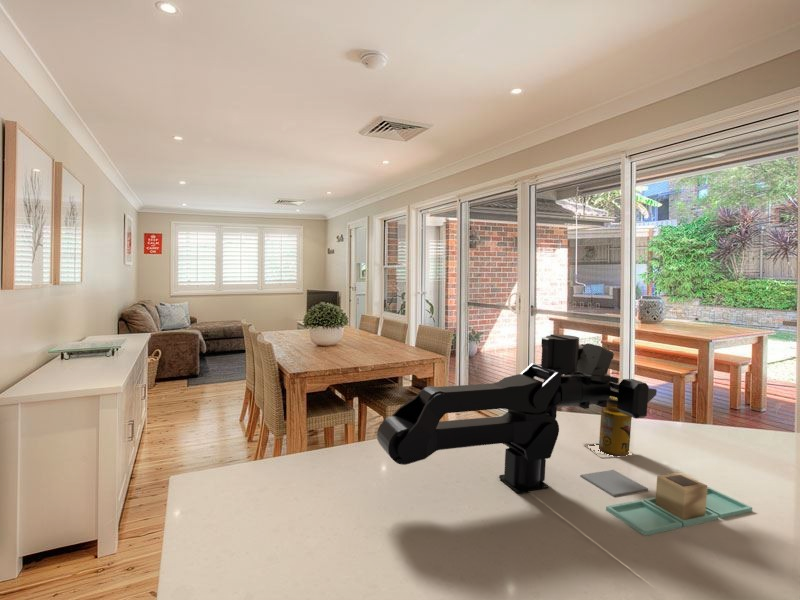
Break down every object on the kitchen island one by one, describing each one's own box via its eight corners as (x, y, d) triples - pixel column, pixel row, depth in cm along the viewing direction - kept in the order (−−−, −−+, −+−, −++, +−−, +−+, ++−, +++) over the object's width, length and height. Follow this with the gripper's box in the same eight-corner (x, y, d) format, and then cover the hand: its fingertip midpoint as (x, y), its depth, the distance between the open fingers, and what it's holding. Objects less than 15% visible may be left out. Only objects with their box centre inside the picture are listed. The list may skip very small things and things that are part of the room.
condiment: (638, 457, 99) (641, 402, 98) (600, 458, 97) (604, 402, 97) (617, 444, 106) (620, 392, 105) (582, 445, 105) (585, 392, 104)
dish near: (644, 537, 68) (645, 531, 68) (605, 511, 75) (606, 506, 75) (681, 528, 71) (682, 523, 71) (640, 504, 78) (641, 499, 78)
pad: (613, 498, 80) (613, 494, 80) (580, 477, 88) (580, 474, 88) (647, 491, 83) (648, 488, 83) (613, 472, 90) (613, 469, 90)
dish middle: (683, 528, 71) (684, 522, 71) (643, 504, 78) (643, 499, 78) (718, 520, 74) (718, 515, 74) (675, 498, 81) (675, 493, 81)
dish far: (720, 520, 74) (720, 514, 74) (677, 497, 81) (678, 492, 81) (751, 512, 77) (752, 507, 77) (708, 491, 84) (708, 486, 84)
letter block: (682, 520, 73) (684, 489, 72) (655, 505, 77) (657, 475, 77) (705, 515, 74) (707, 485, 74) (676, 500, 79) (679, 471, 79)
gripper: (613, 357, 77) (682, 354, 83) (542, 339, 95) (602, 338, 100) (609, 422, 78) (677, 415, 83) (539, 393, 95) (599, 389, 101)
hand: (635, 385), depth 92 cm, fingers open, 9 cm apart
